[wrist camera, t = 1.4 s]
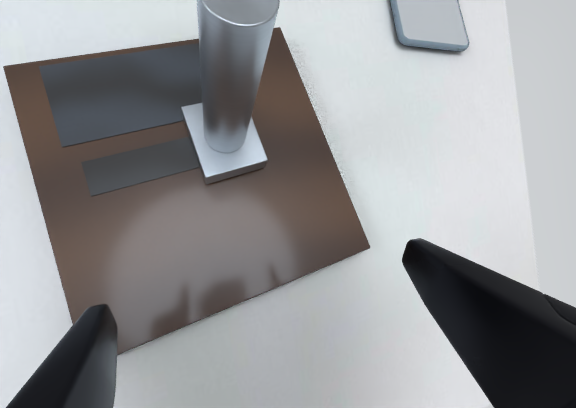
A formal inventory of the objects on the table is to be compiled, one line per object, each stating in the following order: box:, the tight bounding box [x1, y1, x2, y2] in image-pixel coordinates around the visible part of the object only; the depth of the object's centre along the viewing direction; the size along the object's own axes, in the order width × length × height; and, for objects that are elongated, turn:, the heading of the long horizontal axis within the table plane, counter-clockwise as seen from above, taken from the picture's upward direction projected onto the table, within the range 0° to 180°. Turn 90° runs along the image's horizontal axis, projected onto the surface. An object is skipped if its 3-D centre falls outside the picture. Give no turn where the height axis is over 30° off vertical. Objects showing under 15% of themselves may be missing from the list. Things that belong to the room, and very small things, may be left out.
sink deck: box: [3, 27, 370, 355], centre depth 22 cm, size 20×20×2 cm
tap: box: [181, 0, 279, 184], centre depth 16 cm, size 11×4×13 cm, turn 21°
